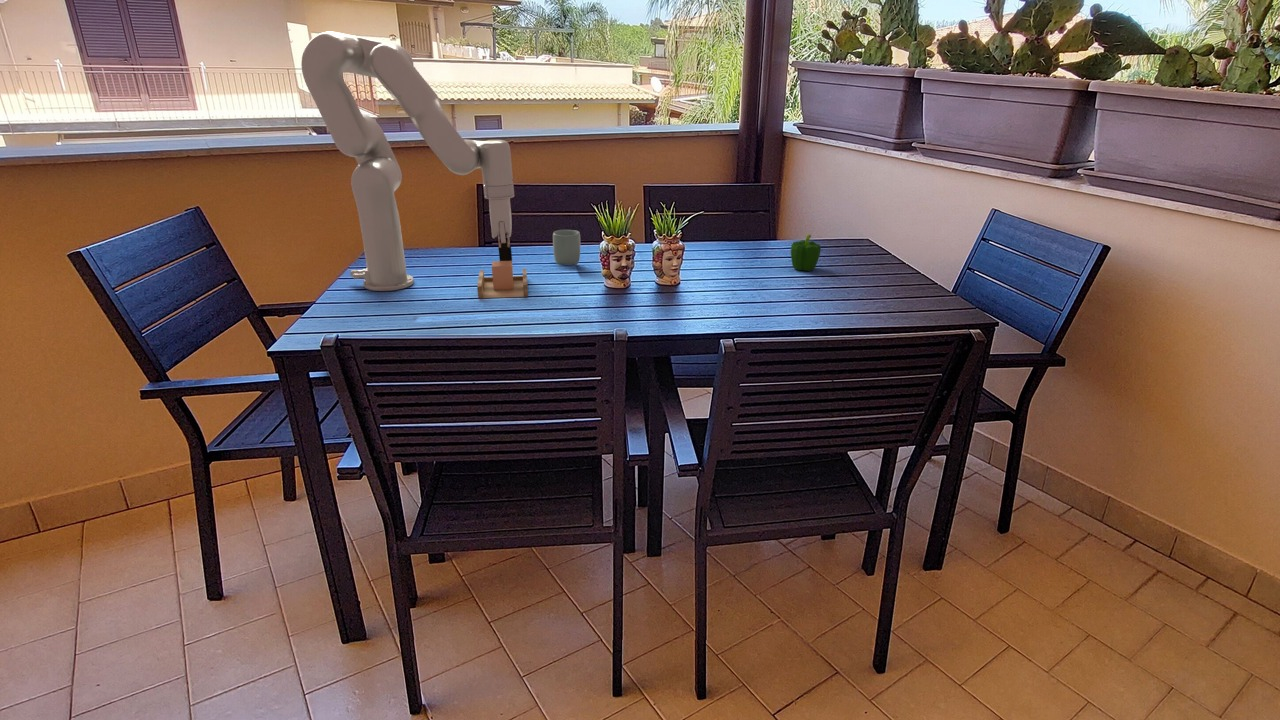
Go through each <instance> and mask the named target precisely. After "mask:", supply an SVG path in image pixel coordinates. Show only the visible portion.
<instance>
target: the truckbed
mask: <svg viewBox="0 0 1280 720" xmlns="http://www.w3.org/2000/svg"><path fill="white" fill-rule="evenodd" d="M527 274H528V273H527V268H522V275H513V282H514V289H497V290H494V289H493V276H485V272H484V270H483V269H482V270H481V269H480V270H479V274H478V279H477V284H476V285H477V286H476V288H477V299H498V298H499V299H500V298H505V299H506V298H526V297H529V294H528V292H529V291H528V290H529V288H528V287H529V286H528V275H527Z"/></svg>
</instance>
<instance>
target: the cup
mask: <svg viewBox="0 0 1280 720" xmlns="http://www.w3.org/2000/svg"><path fill="white" fill-rule="evenodd" d="M580 233H581V232H580V231H579V230H574V229H559V230H554V231H553V233H552V248H553V257H554V261H555V263H556V264H558V265H564V266H565V265H566V266H568V265H570V266H571V265H575V267H577V265H578V264H579V263H580V258H581V234H580Z"/></svg>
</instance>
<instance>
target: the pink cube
mask: <svg viewBox="0 0 1280 720" xmlns="http://www.w3.org/2000/svg"><path fill="white" fill-rule="evenodd" d="M513 267H514V266H513V260H512V261H500V260H495V261H494V260H493V261H492V263H491V273H492V276H491V277H493V289H494V290H497V289H514V282H513V276H514V269H513Z"/></svg>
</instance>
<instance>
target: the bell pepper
mask: <svg viewBox="0 0 1280 720" xmlns="http://www.w3.org/2000/svg"><path fill="white" fill-rule="evenodd" d="M811 238H812V235H811V234H809V233H808V234H807V235H806V238H805V240H803V239H802V240H800V241H794V242H792V244H791V247H790V257H791V264H792V267H793V269H794V270H797V271H805V272H810V271H811V272H812V271H814V270H815V268H816V266H817V264H818V261H819V259H820V256H821V245H820V244H819V243H816V242H815V241H813V240H812V241H810V239H811Z"/></svg>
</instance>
